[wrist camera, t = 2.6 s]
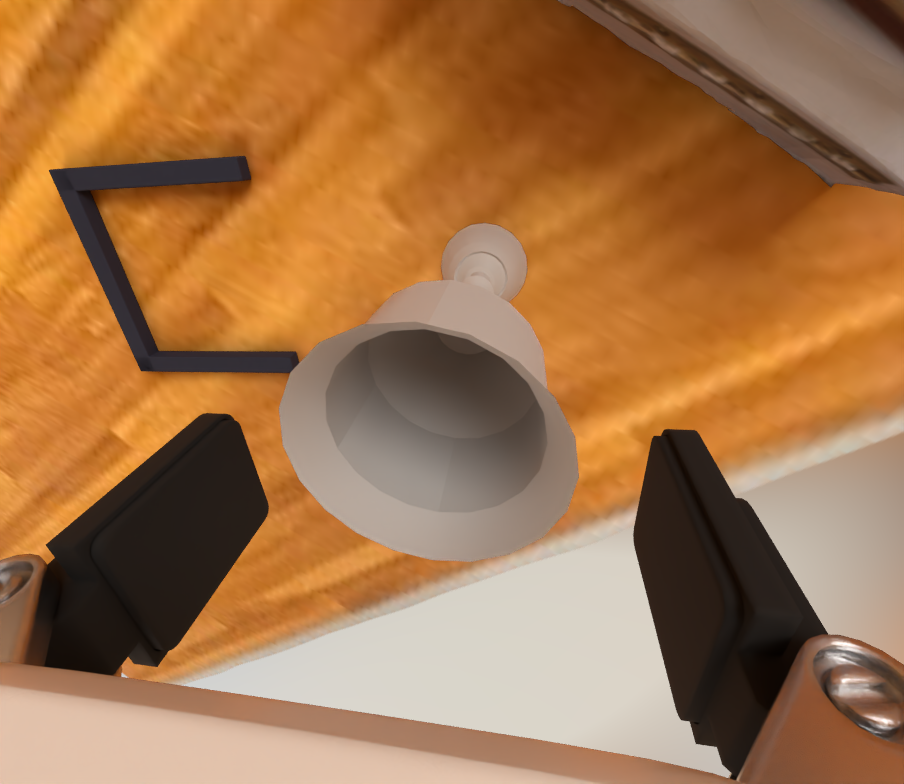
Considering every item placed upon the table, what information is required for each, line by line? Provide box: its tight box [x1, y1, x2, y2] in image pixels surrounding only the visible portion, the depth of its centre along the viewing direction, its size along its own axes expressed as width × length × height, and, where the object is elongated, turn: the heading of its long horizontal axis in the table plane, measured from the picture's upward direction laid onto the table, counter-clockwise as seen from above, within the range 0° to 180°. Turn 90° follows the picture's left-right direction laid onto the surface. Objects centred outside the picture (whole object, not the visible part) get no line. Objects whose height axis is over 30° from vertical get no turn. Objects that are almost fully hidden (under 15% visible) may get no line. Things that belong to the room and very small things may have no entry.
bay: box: [49, 156, 299, 373], centre depth 28 cm, size 12×13×1 cm
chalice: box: [279, 223, 579, 562], centre depth 18 cm, size 7×7×18 cm
